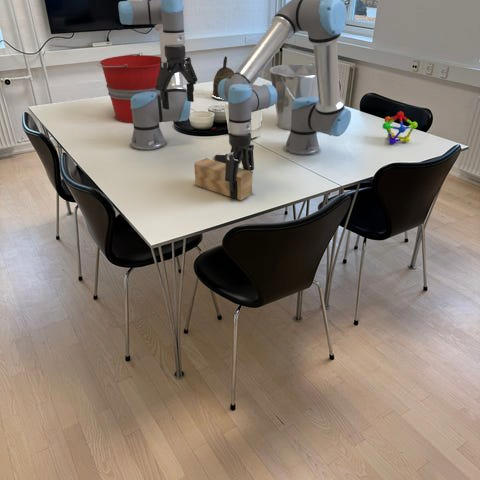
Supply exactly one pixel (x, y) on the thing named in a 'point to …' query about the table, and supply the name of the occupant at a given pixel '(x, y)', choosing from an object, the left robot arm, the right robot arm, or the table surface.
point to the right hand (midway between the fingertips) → (239, 193)
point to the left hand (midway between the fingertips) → (178, 105)
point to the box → (221, 178)
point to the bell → (221, 76)
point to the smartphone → (220, 158)
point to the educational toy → (398, 128)
